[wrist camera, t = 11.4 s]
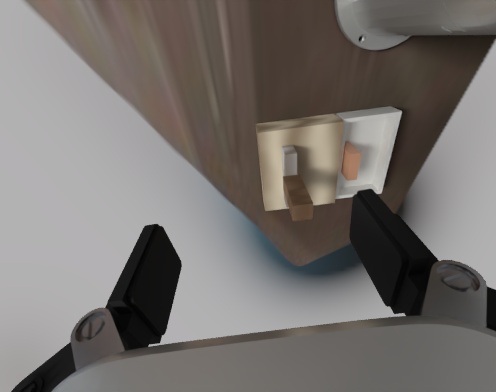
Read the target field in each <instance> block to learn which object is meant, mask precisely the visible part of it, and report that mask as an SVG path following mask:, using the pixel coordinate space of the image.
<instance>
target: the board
mask: <svg viewBox="0 0 496 392" xmlns="http://www.w3.org/2000/svg"><path fill="white" fill-rule="evenodd" d="M343 126H344V121H343V120H341V119H340V118H339V117H338V116H336V115H335V114H327V115H320V116H312V117H305V118H297V119H290V120H282V121H275V122H267V123H260V124H256V132H257V142H258V152H259V162H260V172H261V182H262V192H263V200H264V206H265V211H269V210H278V209H286V208H289V207H286V204H285V200H284V197H283V171H282V146H286V145H293V146H294V148H295V150H296V152H297V175H298V174H300V176H301V178H302V180H303V182H304V184H305V187H306V189H307V191H308V193H309V195H310V197H311V199H312V202H313V205H319V204H327V203H335V195H336V187H337V178H338V169H339V161H340V152H341V144H342V135H343Z"/></svg>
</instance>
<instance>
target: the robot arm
mask: <svg viewBox="0 0 496 392" xmlns="http://www.w3.org/2000/svg"><path fill="white" fill-rule="evenodd" d="M335 13H336V17H337V22H338V24H339V27H340V29H341V31H342V33H343V34H344V35H345V37H346V38H347V39H348V40H349V41H350V42H351V43H352V44H354V45H356V46H358V47H360V48H362V49H367V50H383V49H388V48H391V47H393V46H396V45H398V44H400V43H401V42H403V41H405V40H407V39H408V38H409V37H410V36H412V35H496V0H335ZM359 37H361V39H360V41H359ZM350 241H351V243H352V245H353V247H354V248H355V250H356V252H357V254H358V256H359V258H360V259H361V261H362V263H363V265H364V267H365V269H366V271H367V273H368V274H369V276H370V278H371V280H372V282H373V284H374V285H375V287H376V289H377V291H378V293H379V295H380V297H381V298H382V300H383V302H384V304H385V305H386V306H390V307H391V309H392V311H393V313H394V314H398V313H405V315H406V316H402V317H388V318H379V319H368V320H358V321H350V322H341V323H333V324H324V325H316V326H308V327H300V328H291V329H283V330H275V331H266V332H258V333H250V334H242V335H234V336H226V337H218V338H211V339H203V340H195V341H187V342H179V343H172V344H165V345H159V346H152V347H148V345H149V344H156V343H160V341H161V337H162V335H164V334H165V332H166V329H167V324H168V320H169V316H170V312H171V308H172V304H173V300H174V296H175V292H176V287H177V283H178V279H179V275H180V271H181V267H182V265H181V260H180V258H179V256H178V254H177V253H176V251H175V249H174V247H173V245H172V243H171V241H170V239H169V238H168V236H167V234H166V232H165V230H164V228H163V227H162V226H159V225H158V224H153V225H147V226H145V227H144V228H143V230H142V233H141V234H140V237H139V239H138V241H137V243H136V245H135V247H134V249H133V251H132V253H131V255H130V257H129V259H128V261H127V263H126V265H125V267H124V269H123V271H122V273H121V275H120V278H119V280H118V282H117V284H116V286H115V288H114V290H113V292H112V294H111V296H110V298H109V300H108V303H107V305H106V307H105V308H98V309H95V310H92V311H91V312H89V313H87V314H86V315H85V316H84V317H82V318H81V319H80V320H79V322H78V323H77V324H76V326H75V327H74V329H73V331H72V334H71V342H70V343H69V344H67V345H66V346H65V347H64V348H62V349H61V350H60V351H59V352H57V353H56V354H55V355H54V356H52V357H51V358H50V359H49V360H47V361H46V362H45V363H44V364H42V365H41V366H40V367H39V368H37V369H36V370H35V371H34V372H32V373H31V374H30V375H28V376H27V377H26V378H25V379H24V380H22V381H21V382H20V383H19V384H18V385H17V386H16V387H15V388H14V389H13V390H12V391H11V392H496V290H495V289H492V288H489V287H487V286H486V281H485V280H484V279H483V277H482V276H481V275H480V274H479V273H478V272H477V271H476V270H474V269H472V268H471V267H469V266H467V265H465V264H462V263H460V262H456V261H452V260H442V261H438V260H437V258H436V257H435V256H434V255H433V254H432V253H431V251H430V250H429V249H428V248H427V247H426V246H425V245H424V243H423V242H422V241H421V240H420V239H419V238H418V237H417V235H416V234H415V233H414V232H413V231H412V230H411V229H410V228H409V227H408V225H407V224H406V223H405V222H404V221H403V220H402V219H401V217H400V216H398V215H397V214H393V212H392V211H391V210H390V209H389V208H388V207H387V205H386V204H385V203H384V202H383V201H382V200H381V199H380V197H379V196H378V195H377V194H376V193H375V192H374V190H372V189H365V190H359V191H358V192H357V194H354V196H353V204H352V214H351V224H350Z"/></svg>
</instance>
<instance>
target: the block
mask: <svg viewBox="0 0 496 392" xmlns="http://www.w3.org/2000/svg"><path fill="white" fill-rule="evenodd" d="M360 158H361V152H360V151H359V150H358V149H357V148H355V147H354V146H353V145H352V144H351V143H350V142H345V145H344V153H343V161H342V169H341V173H342V175H343V176H344V177H345V179H346V180H347V181H349V180H357V176H358V170H359V164H360Z"/></svg>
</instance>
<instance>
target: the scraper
mask: <svg viewBox="0 0 496 392" xmlns="http://www.w3.org/2000/svg"><path fill="white" fill-rule="evenodd" d="M282 171H283V197H284V200H285V204H286V207H289V210H290V213H291V216H292V219H293V221H300V220H308V219H313V202H312V199H311V197H310V195H309V193H308V191H307V189H306V187H305V184H304V182H303V180H302V178H301V176H300V174H298V175H297V152H296V150H295V148H294V146H293V145H286V146H282Z"/></svg>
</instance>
